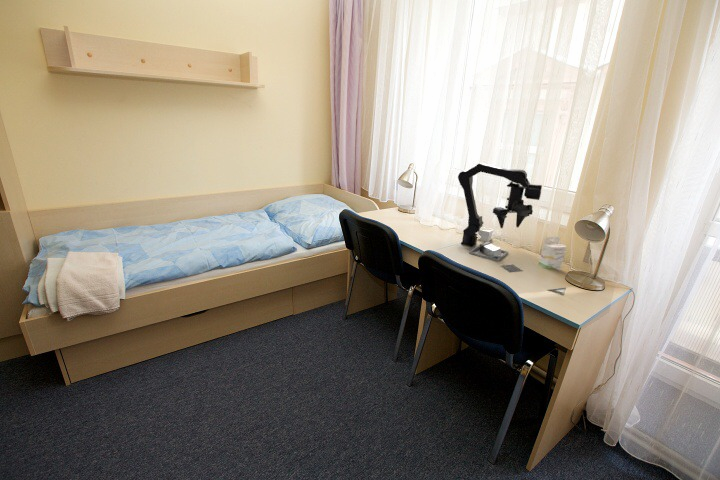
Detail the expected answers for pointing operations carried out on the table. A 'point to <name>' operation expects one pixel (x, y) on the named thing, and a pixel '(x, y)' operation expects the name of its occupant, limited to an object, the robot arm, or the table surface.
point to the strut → (490, 250)
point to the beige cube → (485, 235)
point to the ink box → (552, 253)
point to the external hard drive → (558, 290)
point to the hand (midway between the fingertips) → (509, 227)
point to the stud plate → (511, 268)
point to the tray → (477, 249)
